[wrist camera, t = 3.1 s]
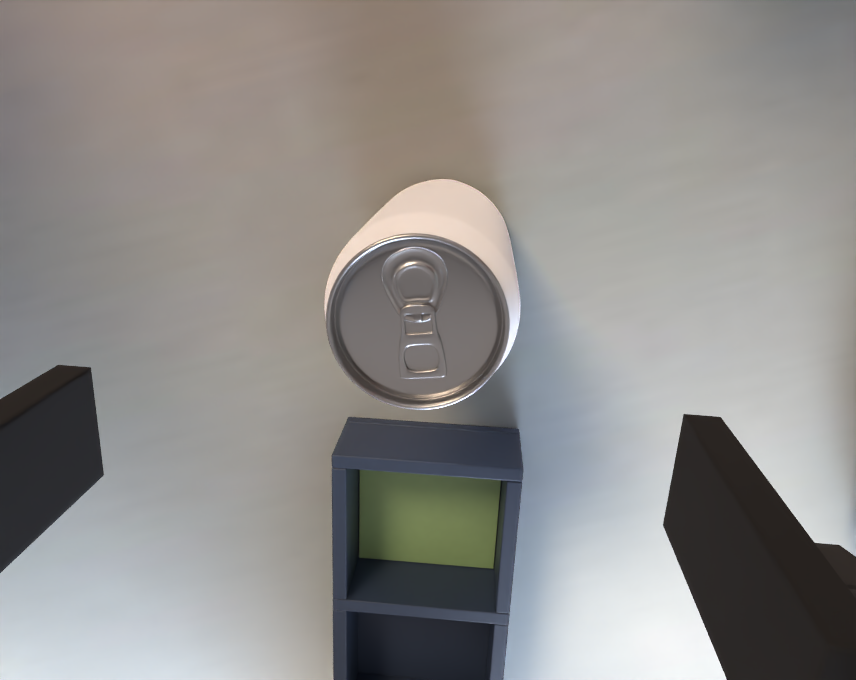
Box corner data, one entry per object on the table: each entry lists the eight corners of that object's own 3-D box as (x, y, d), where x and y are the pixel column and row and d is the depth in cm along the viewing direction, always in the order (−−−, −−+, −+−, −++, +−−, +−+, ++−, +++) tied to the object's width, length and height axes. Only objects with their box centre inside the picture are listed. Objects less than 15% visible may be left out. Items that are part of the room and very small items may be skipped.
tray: (348, 416, 35) (331, 454, 31) (519, 428, 35) (523, 468, 31) (348, 672, 41) (333, 731, 37) (495, 686, 40) (496, 748, 36)
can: (507, 172, 31) (519, 210, 19) (513, 310, 33) (528, 418, 21) (365, 183, 31) (297, 226, 20) (380, 317, 33) (326, 427, 22)
